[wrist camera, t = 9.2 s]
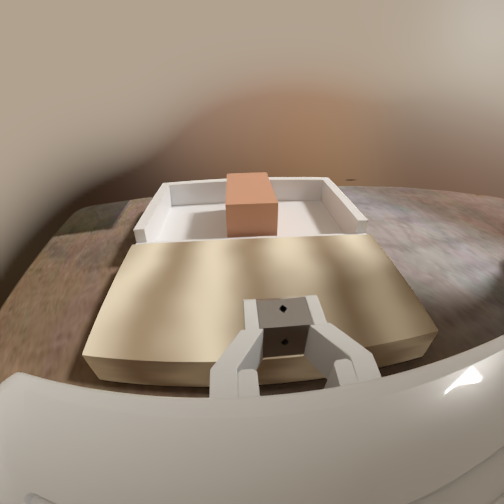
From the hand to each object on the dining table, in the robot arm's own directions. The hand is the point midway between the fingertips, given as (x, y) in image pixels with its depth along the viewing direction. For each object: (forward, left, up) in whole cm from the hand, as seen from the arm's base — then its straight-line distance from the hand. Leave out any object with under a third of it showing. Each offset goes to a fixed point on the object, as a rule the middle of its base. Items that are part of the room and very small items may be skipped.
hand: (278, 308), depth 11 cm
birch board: (0, -8, -8) cm, 11 cm away
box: (0, -22, -8) cm, 24 cm away
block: (0, -16, -5) cm, 17 cm away
